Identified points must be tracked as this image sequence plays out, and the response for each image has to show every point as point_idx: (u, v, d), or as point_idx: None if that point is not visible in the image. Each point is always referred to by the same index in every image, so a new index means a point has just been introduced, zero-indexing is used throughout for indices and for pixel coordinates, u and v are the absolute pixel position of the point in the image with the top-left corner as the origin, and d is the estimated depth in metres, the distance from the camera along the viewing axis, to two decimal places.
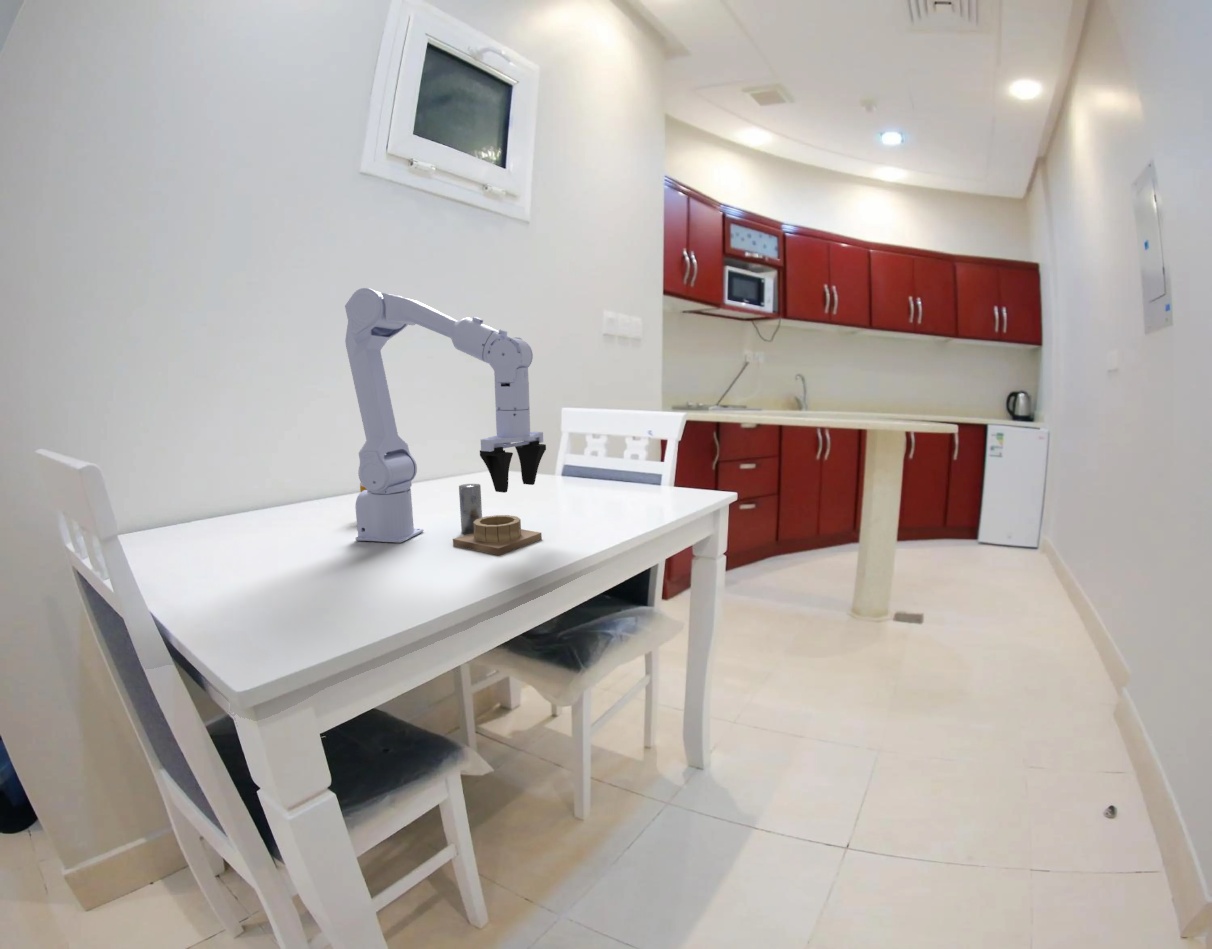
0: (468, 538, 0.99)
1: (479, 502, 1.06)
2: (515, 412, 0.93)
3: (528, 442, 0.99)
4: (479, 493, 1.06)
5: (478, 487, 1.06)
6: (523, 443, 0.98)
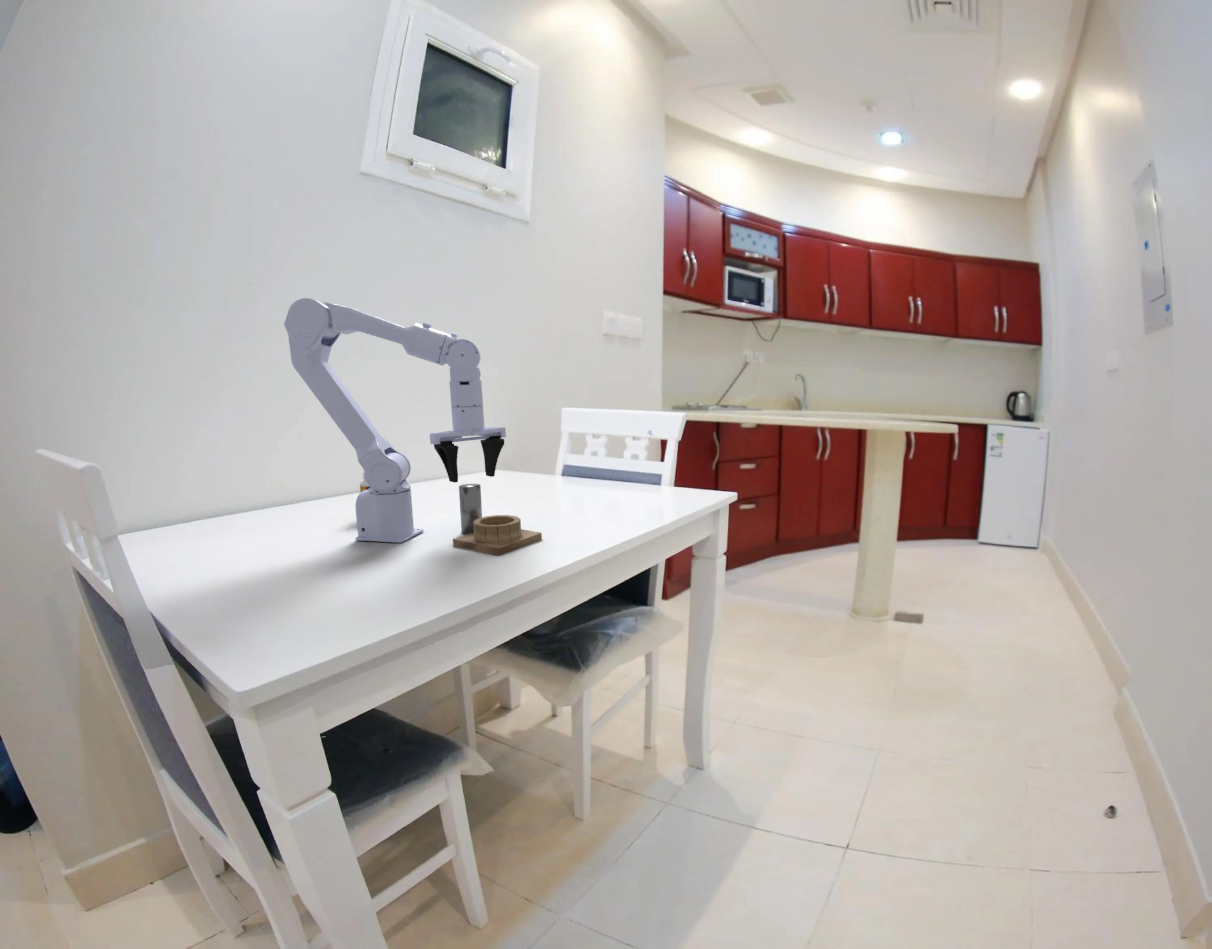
0: (468, 538, 0.99)
1: (479, 502, 1.06)
2: (463, 409, 1.01)
3: (487, 436, 1.07)
4: (479, 493, 1.06)
5: (478, 487, 1.06)
6: (481, 437, 1.06)
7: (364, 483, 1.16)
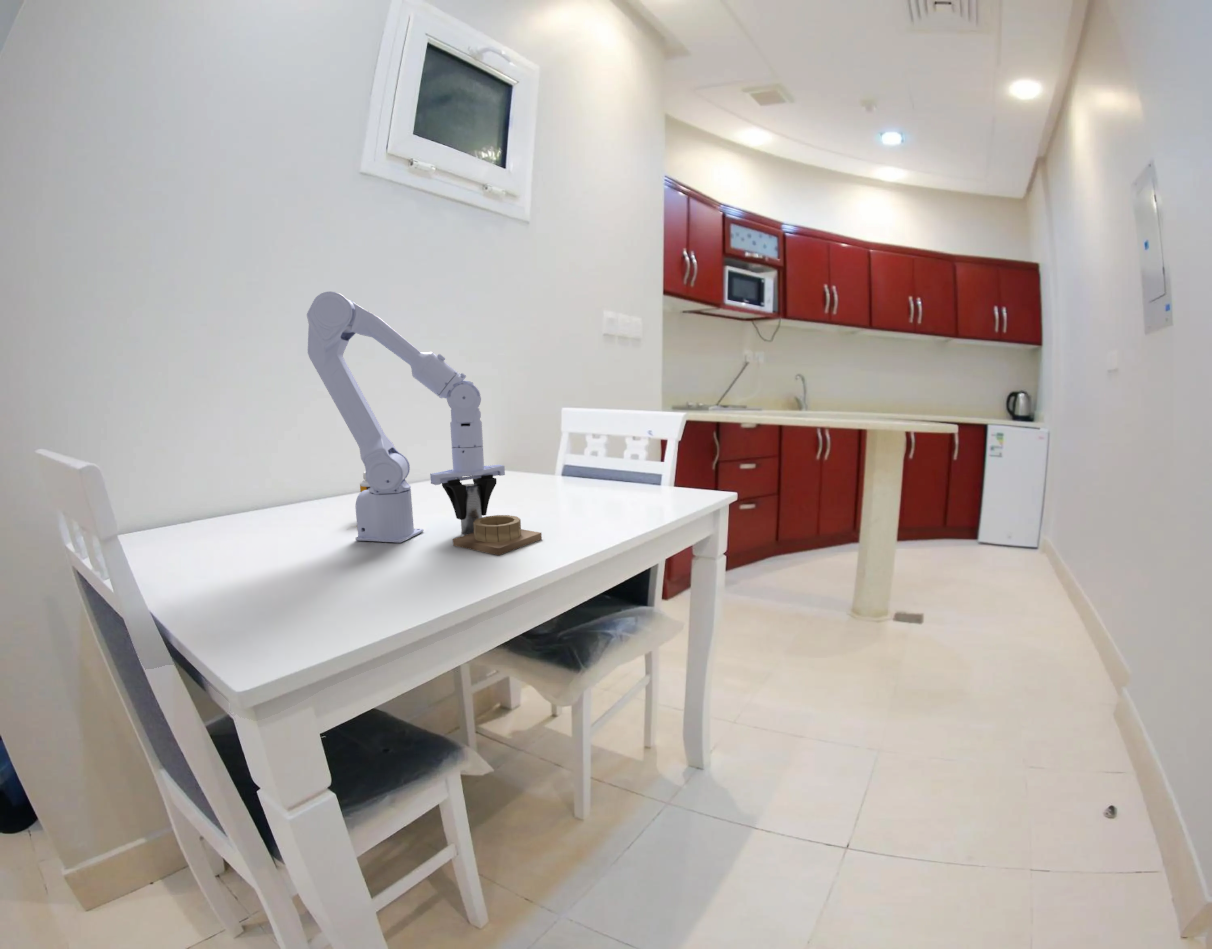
0: (468, 538, 0.99)
1: (479, 502, 1.06)
2: (463, 449, 1.02)
3: None
4: (479, 493, 1.06)
5: (478, 487, 1.06)
6: (480, 476, 1.07)
7: (364, 483, 1.16)
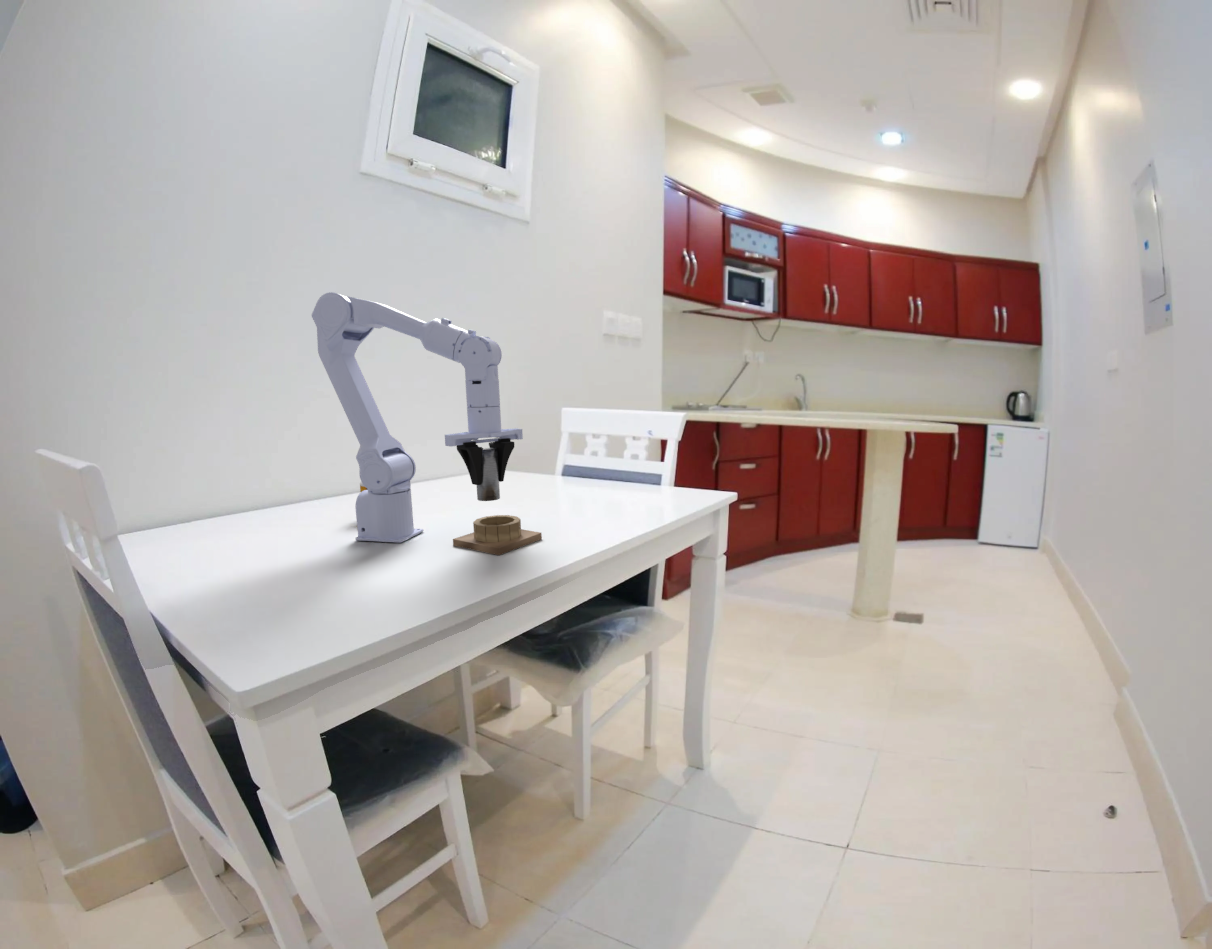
0: (468, 538, 0.99)
1: (496, 467, 1.00)
2: (480, 409, 0.96)
3: (504, 438, 1.02)
4: (496, 457, 1.00)
5: (495, 450, 0.99)
6: (497, 439, 1.01)
7: None
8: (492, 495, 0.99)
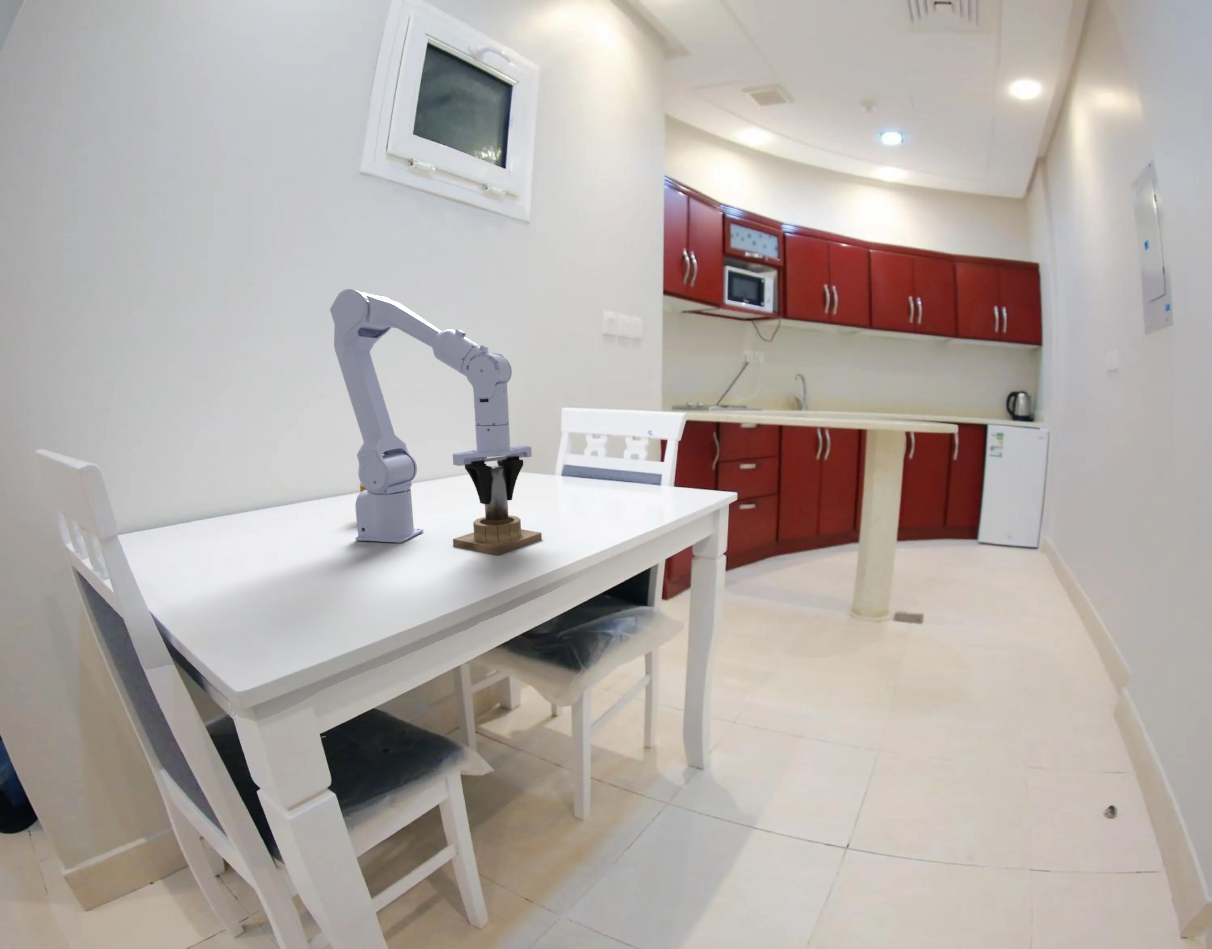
0: (468, 538, 0.99)
1: (505, 485, 0.98)
2: (489, 427, 0.94)
3: (512, 456, 1.00)
4: (504, 476, 0.98)
5: (503, 469, 0.97)
6: (506, 457, 0.99)
7: None
8: (500, 514, 0.98)
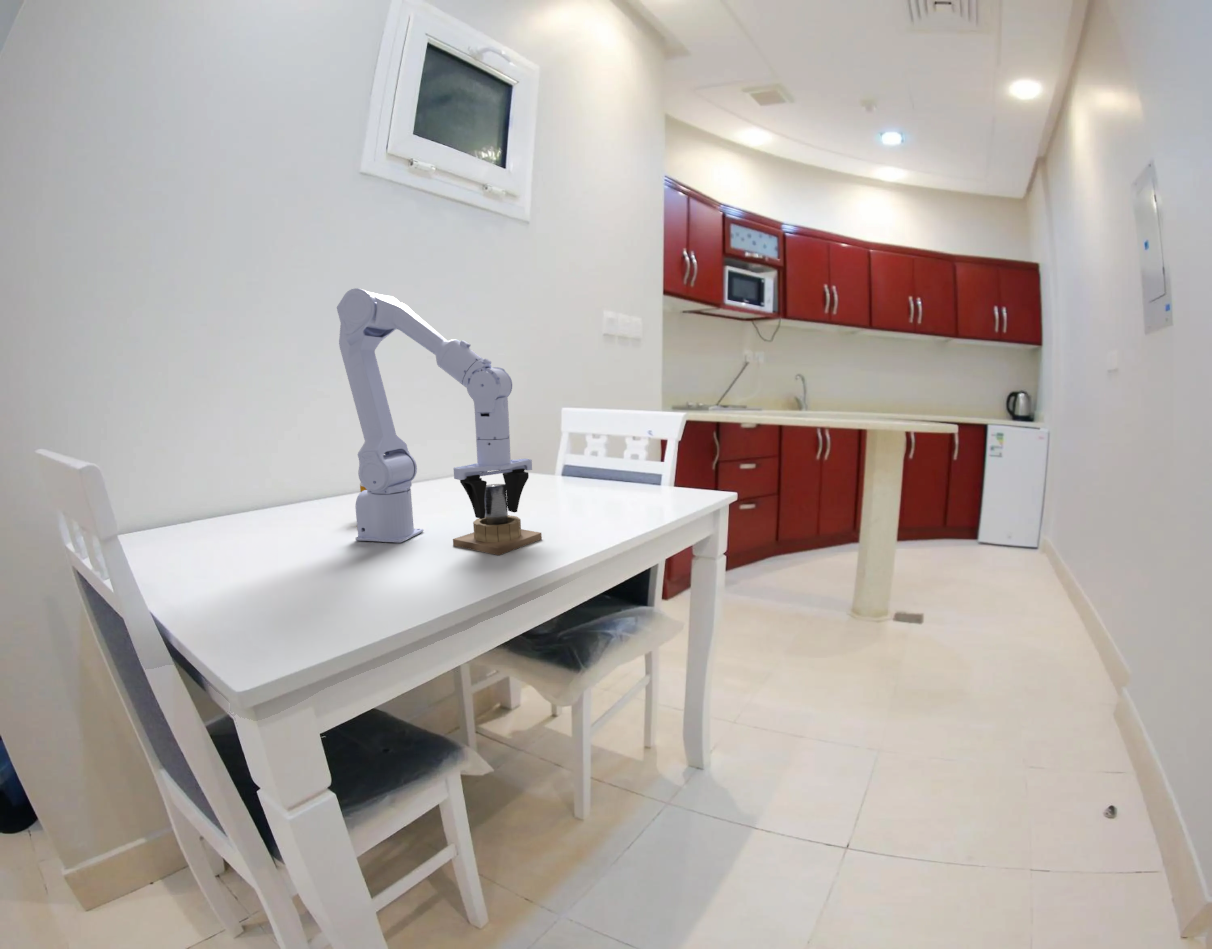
0: (468, 538, 0.99)
1: (505, 503, 0.99)
2: (489, 441, 0.94)
3: (513, 470, 1.00)
4: (505, 493, 0.99)
5: (503, 487, 0.98)
6: (506, 471, 0.99)
7: None
8: None
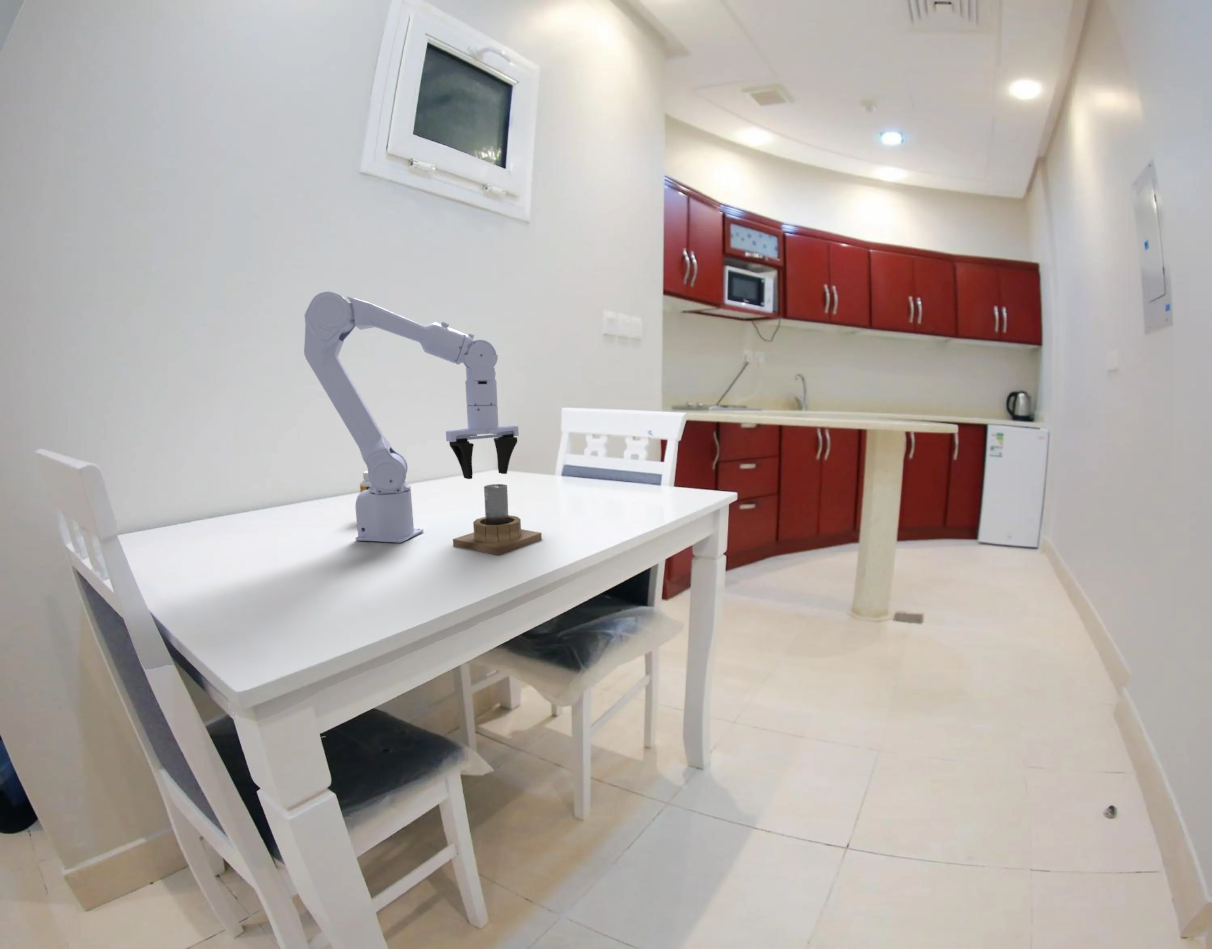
0: (468, 538, 0.99)
1: (506, 504, 0.98)
2: (478, 407, 1.04)
3: (501, 435, 1.09)
4: (506, 494, 0.98)
5: (505, 488, 0.98)
6: (494, 436, 1.08)
7: (364, 483, 1.16)
8: None
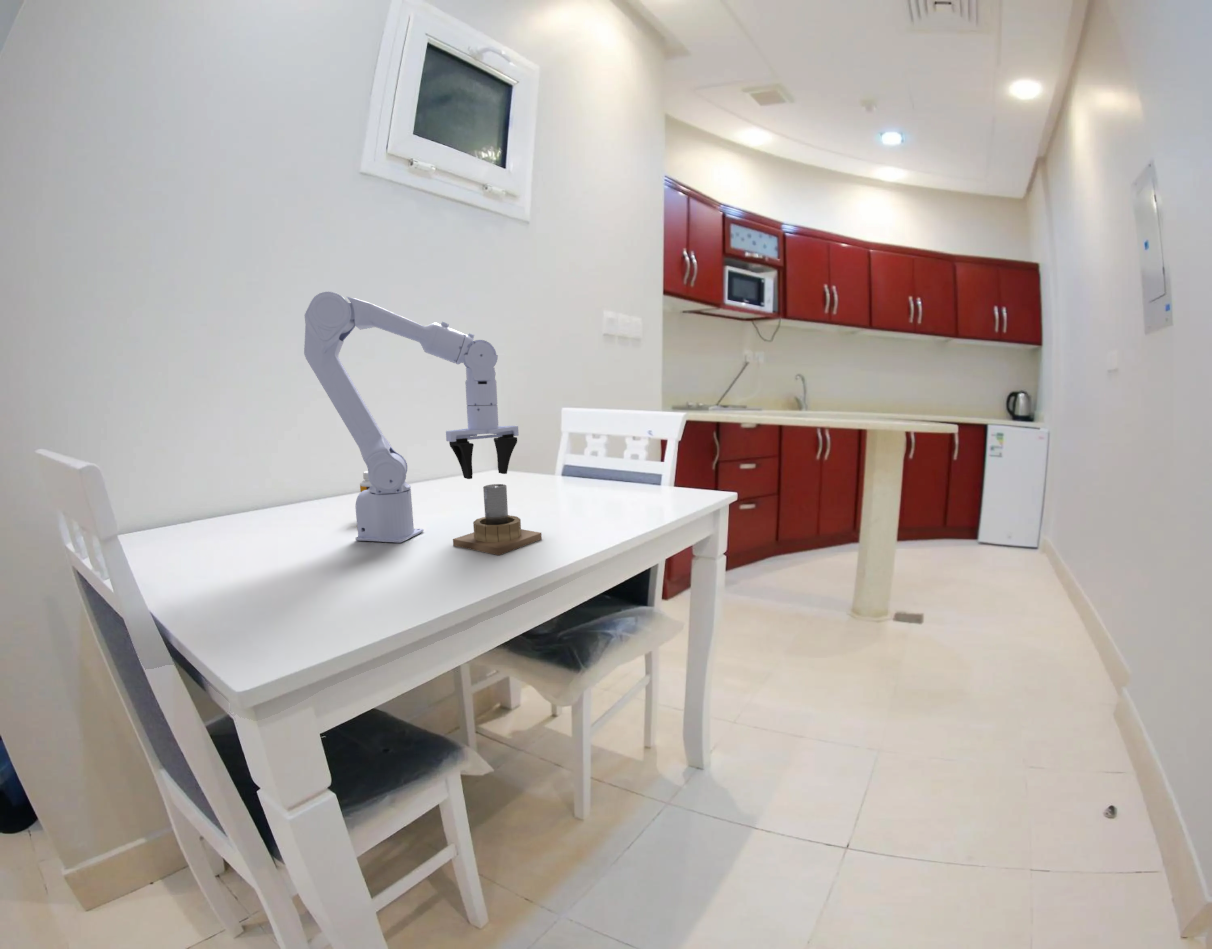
0: (468, 538, 0.99)
1: (505, 504, 0.98)
2: (478, 407, 1.04)
3: (501, 435, 1.09)
4: (505, 494, 0.98)
5: (504, 488, 0.98)
6: (494, 436, 1.09)
7: (364, 483, 1.16)
8: None
